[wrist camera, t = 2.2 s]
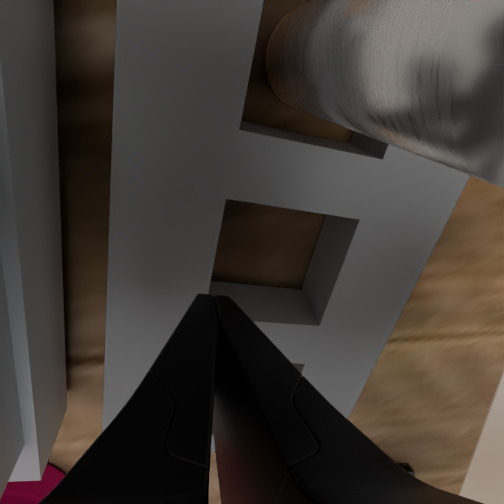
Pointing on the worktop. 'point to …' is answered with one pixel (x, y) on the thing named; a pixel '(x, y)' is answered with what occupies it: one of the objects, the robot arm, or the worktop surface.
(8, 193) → the cover
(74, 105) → the worktop surface
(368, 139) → the hole board
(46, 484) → the pepper mill
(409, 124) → the pin
